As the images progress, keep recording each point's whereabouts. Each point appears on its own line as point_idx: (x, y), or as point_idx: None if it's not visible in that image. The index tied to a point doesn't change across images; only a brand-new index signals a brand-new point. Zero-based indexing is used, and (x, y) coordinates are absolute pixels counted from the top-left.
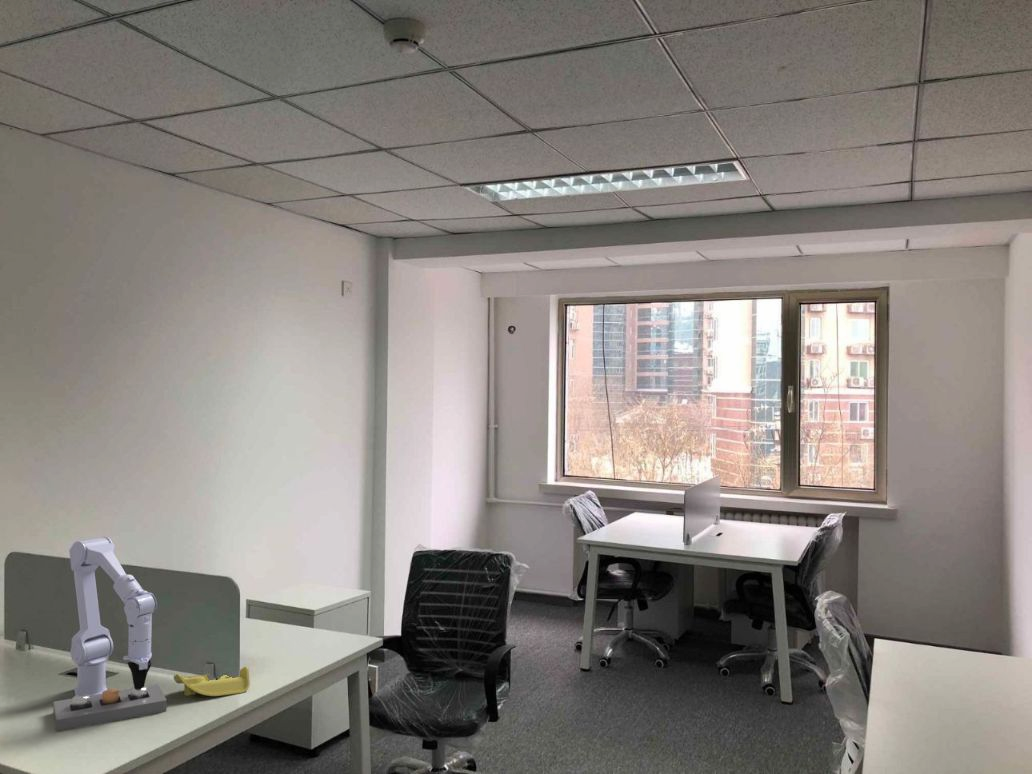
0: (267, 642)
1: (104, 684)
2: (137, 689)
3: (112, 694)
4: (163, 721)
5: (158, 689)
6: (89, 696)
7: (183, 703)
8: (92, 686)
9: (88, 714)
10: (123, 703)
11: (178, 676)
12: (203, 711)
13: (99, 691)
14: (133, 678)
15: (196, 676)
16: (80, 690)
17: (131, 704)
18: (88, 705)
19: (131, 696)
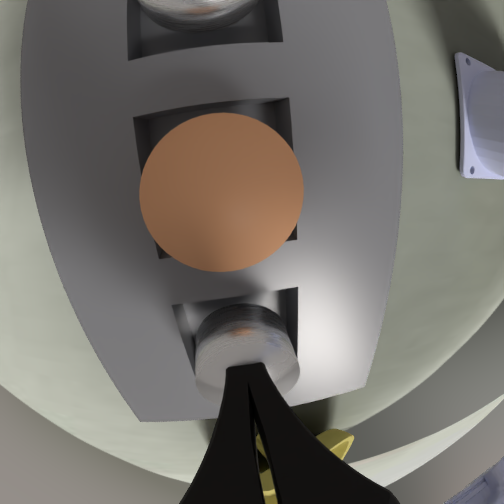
0: (449, 434)
1: (502, 173)
2: (220, 377)
3: (147, 216)
4: (56, 368)
5: (295, 400)
6: (172, 4)
7: (208, 419)
8: (496, 116)
9: (21, 71)
10: (131, 270)
11: (264, 485)
12: (127, 439)
13: (477, 144)
14: (211, 441)
15: (342, 451)
16: (491, 73)
17: (104, 311)
18: (167, 27)
19: (220, 318)
